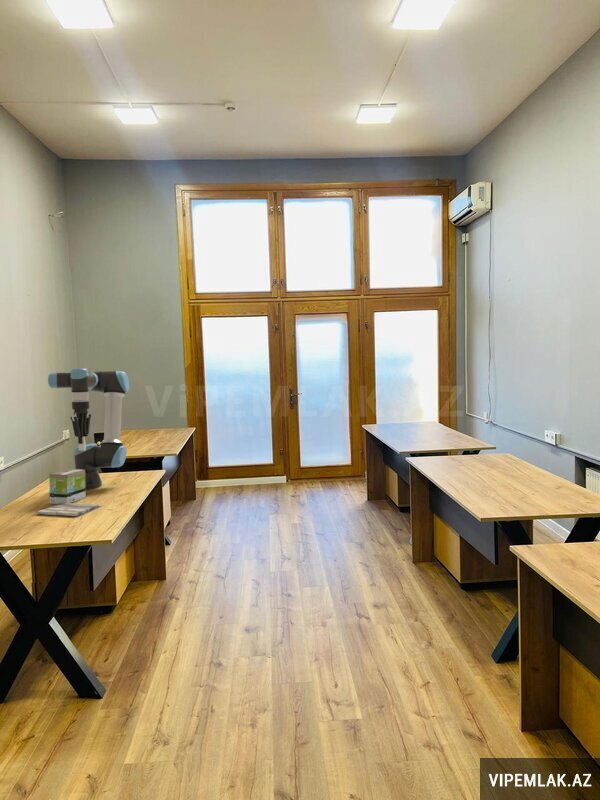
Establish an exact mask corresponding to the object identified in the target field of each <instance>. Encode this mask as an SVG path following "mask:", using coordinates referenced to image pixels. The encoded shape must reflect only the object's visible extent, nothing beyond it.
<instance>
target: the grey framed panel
mask: <svg viewBox="0 0 600 800" xmlns="http://www.w3.org/2000/svg"><path fill="white" fill-rule="evenodd" d="M102 507H103V506H102V505H98V508H95V509H93V510H91V511H89V512H86V513H83V514H80V515H77V516H66V515H48V514H37V513H36V514H35V516H42V517H59V518H61V517H62V518H74V519H75V518H77V519H78V518H80V517H82V516H85V515H86V514H89V513H92V512H93V511H96V510H98V509H99V508H102Z"/></svg>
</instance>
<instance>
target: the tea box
mask: <svg viewBox="0 0 600 800" xmlns="http://www.w3.org/2000/svg"><path fill="white" fill-rule="evenodd" d="M85 498H86V489H85V470H79V469H75V468H67V469H62V470H59V471H56V472H53V473H49V504H53V505H56V504H59V503H74V502H77V501H80V500H82V499H85Z"/></svg>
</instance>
